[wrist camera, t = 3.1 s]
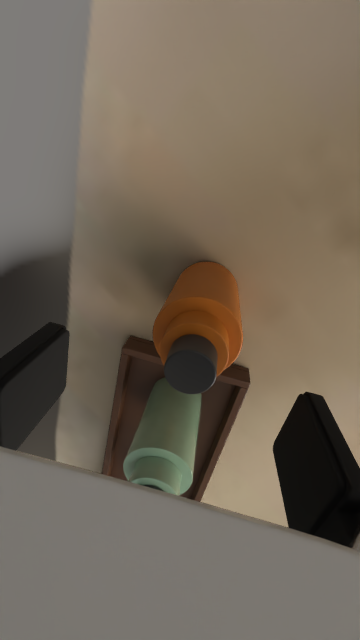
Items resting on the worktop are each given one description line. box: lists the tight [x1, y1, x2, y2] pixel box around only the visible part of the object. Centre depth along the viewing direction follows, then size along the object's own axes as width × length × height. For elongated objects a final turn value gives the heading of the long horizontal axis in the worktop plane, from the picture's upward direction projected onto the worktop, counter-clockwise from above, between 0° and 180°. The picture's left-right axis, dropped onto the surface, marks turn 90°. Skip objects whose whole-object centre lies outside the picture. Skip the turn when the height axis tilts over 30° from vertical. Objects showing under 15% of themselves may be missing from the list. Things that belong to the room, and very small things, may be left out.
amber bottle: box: [153, 262, 243, 394], centre depth 16 cm, size 5×5×10 cm
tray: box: [102, 336, 250, 502], centre depth 28 cm, size 25×10×2 cm, turn 167°
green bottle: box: [123, 377, 202, 496], centre depth 20 cm, size 5×5×10 cm
